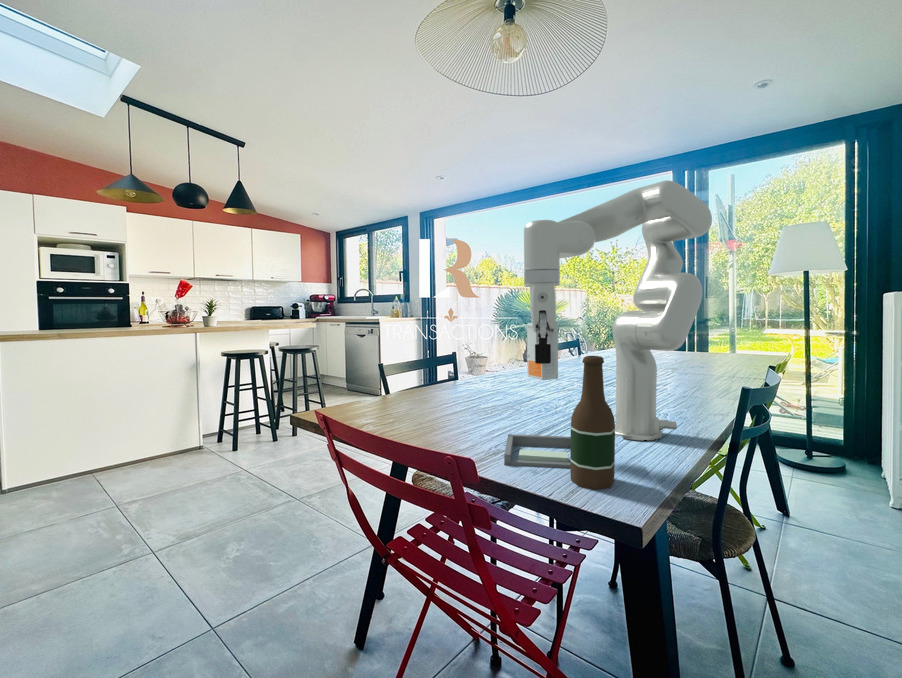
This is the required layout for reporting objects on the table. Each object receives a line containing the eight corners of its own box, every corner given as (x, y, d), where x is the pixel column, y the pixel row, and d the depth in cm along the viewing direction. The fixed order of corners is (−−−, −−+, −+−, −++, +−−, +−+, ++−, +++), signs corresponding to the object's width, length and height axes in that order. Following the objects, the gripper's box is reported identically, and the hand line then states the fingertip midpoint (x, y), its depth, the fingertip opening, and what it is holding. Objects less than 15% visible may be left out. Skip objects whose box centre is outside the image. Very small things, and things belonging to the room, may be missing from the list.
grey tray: (575, 449, 101) (575, 436, 101) (582, 472, 87) (582, 458, 87) (508, 446, 104) (508, 434, 103) (504, 468, 90) (504, 454, 89)
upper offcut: (567, 459, 92) (567, 452, 92) (568, 465, 89) (568, 458, 89) (519, 456, 95) (519, 449, 94) (518, 462, 91) (518, 455, 91)
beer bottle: (623, 487, 79) (625, 356, 78) (597, 498, 75) (598, 360, 73) (587, 474, 86) (588, 353, 84) (561, 484, 81) (561, 356, 80)
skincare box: (526, 376, 98) (526, 323, 97) (542, 375, 100) (542, 323, 99) (542, 380, 92) (542, 324, 92) (559, 379, 94) (558, 323, 93)
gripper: (562, 276, 85) (562, 366, 87) (557, 281, 102) (557, 356, 104) (523, 277, 87) (524, 366, 88) (524, 282, 104) (525, 356, 105)
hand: (542, 360), depth 96 cm, fingers closed on skincare box, 7 cm apart
